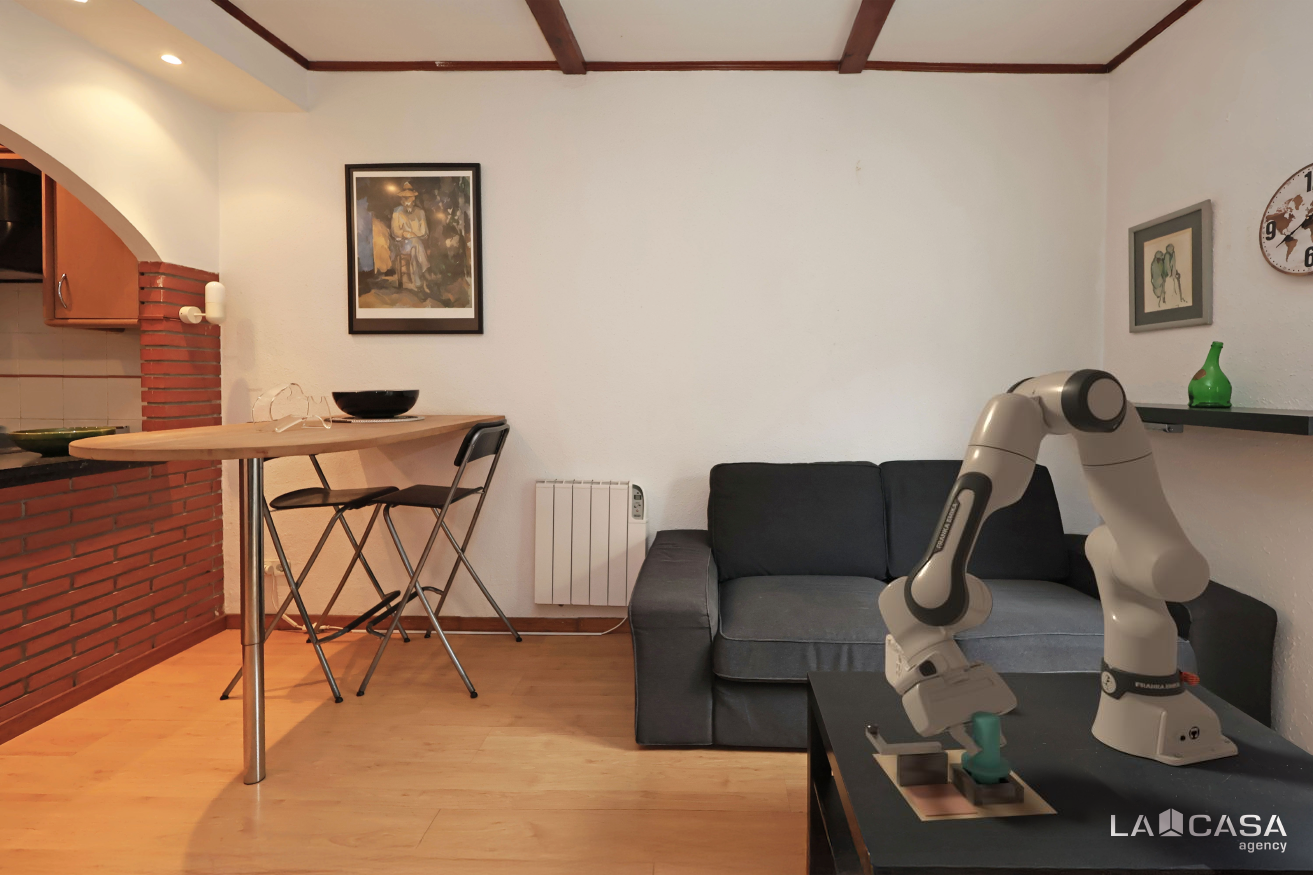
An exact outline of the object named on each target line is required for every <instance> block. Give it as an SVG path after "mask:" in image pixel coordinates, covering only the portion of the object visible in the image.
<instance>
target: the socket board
mask: <svg viewBox="0 0 1313 875" xmlns="http://www.w3.org/2000/svg"><path fill="white" fill-rule="evenodd" d="M966 751H967V750H966V748H965V749H949V750H948V749H947V750H944V749H942V752H941V753H921V754H901V755H882V756H881V754H880V753H872V756H873V758H875V760H876V761H877V763H878V764H879V765H880V767H881V768H882V769H883V771H884V772H885V773H886V775H887V776H888V777H889V779H890V780H891V782H892V783H893V784H894V785H895V787H896V788H897V789H898V791H899V792H900V794H902V796H903V798H904V799H905V800H906V801H907V803H908V804H909V806H910V807H911V808H912V811H914V813H915V814H916V816H918V818H919V819H920V820H921V821H922V822H930V821H932V822H933V821H946V820H947V821H948V820H962V819H963V820H964V819H965V820H967V819H981V818H997V817H998V818H999V817H1012V816H1013V817H1014V816H1016V817H1017V816H1032V815H1051V814H1058V811H1056V810H1055V809H1054V807H1052V806H1050V804H1049V803H1048V802H1046V800H1044V799H1043V798H1042V797H1041V796H1040V795H1039V794H1038V793H1037V792H1036V791H1035V790H1034V789H1032V787H1030V786H1029V785H1028V784H1027V783H1026V782H1025V781H1023V779H1021V778H1020V777H1019V776H1018V775H1017V774H1016V773H1015V772H1014V771H1013V770H1012V769H1011V772H1010V774H1009V775H1007V776H1005V777H1001V778H999V784H981V785H978V784H977V783H976V782H975V781H974V780H973V779H972V772H970V771H968V770H967V769H965V768H964V767H963V766H962V764H961V755H962V754H963V753H964V752H966Z"/></svg>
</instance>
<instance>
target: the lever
mask: <svg viewBox="0 0 1313 875" xmlns="http://www.w3.org/2000/svg"><path fill="white" fill-rule="evenodd" d="M865 736H866V737H867V739H868V740H869V741H870V743H871V744H872V745H873V746H874V748H875V749H876V750H877V751H878V754H881V756H882V755H901V754H921V753H941V752H942V750H943V745H942V744H941V742H939V741H926V742H925V741H924V742H922V741H921V742H906V743H905V742H904V743H887V742H886V741H885V740H884V738H883V737H882V736H881V735H880V733H879V724H877V723H874V722H869V723H866V727H865Z"/></svg>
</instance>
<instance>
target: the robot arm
mask: <svg viewBox="0 0 1313 875" xmlns="http://www.w3.org/2000/svg"><path fill="white" fill-rule="evenodd" d="M1068 434H1071V435H1072V436H1073V438H1074V439H1075V440H1076V443H1077V448H1078V455H1079V458H1080V464H1081V468H1082V472H1083V475H1084V479H1085V482H1086V483H1085V484H1086V486H1087V490H1088V494H1089V498H1090V502H1091V504H1092V506H1093V508H1094V509H1095V511H1097V513H1098V514H1099V515H1100V517H1101V518H1102V520H1103V521H1104V523H1105V524H1101V525H1099V526H1097V527H1095V528H1094V529H1092V531H1091V532H1090V533H1089V534H1088V536H1087V538H1086V540H1085V544H1084V551H1085V552H1084V553H1085V556H1086V558H1087V560H1088V562H1089V564H1090V566H1091V568H1092V570H1093V572H1094V577H1095V580H1096V585H1097V588H1098V593H1099V596H1100V601H1101V606H1102V612H1103V622H1104V626H1103V628H1104V633H1103V635H1104V636H1103V637H1104V638H1103V639H1104V640H1103V656H1102V658H1101V659H1100V674H1099V675H1100V677H1099V678H1100V685H1101V692H1100V693H1101V694H1100V699H1099V704H1098V708H1097V709H1098V710H1097V712H1096V717H1095V720H1094V722H1093V724H1092V727H1091V733H1092V734H1093V736H1094V737H1095V738H1096V739H1097V740H1099V741H1100V742H1102V743H1103V744H1105V745H1106V746H1109V747H1111V748H1112V749H1115V750H1117V751H1120V752H1122V753H1127V754H1130V755H1134V756H1138V757H1143V758H1148V759H1152V760H1156V761H1158V762H1162V763H1163V764H1166V765H1170V766H1178V767H1179V766H1183V765H1189V764H1194V763H1200V762H1204V761H1210V760H1215V759H1220V758H1224V757H1229V756H1236V755H1238V754H1239V750H1238V747H1237V745H1236V744H1235V743H1234V742H1233V741H1232V739H1229V738H1228V737H1226V736H1225V735H1224V734H1222V728H1221V723H1220V720H1219V717H1218V715H1217V713H1216V712H1215V711H1214V710H1213V709H1212V708H1211V707H1210V706H1208V705H1207V704H1205V702H1203V701H1202V700H1200V699H1199V698H1198V697H1196V696H1195V695H1194V694H1192V693H1191V692H1190V691H1189V690H1187V689H1186V686H1185V684H1184V683H1187V684H1188V685H1190V686H1193V687H1195V686H1197V685H1198V684H1199V683H1200V677H1199V676H1198V675H1197V674H1195V673H1192V671H1182V670H1181V669H1180V668H1178V667H1177V665H1178V664H1177V663H1178V662H1177V658H1178V655H1177V654H1178V628H1177V624H1176V622H1175V620H1174V618H1173V617H1172V616H1171V613H1170V612H1169V610H1168V607H1167V604H1166V602H1173V603H1175V602H1176V603H1185V602H1189V601H1191V600H1194V599H1196V598H1197V597H1199V596H1200V595H1201V594H1202V593H1203V592H1204V591H1205V590H1206V588H1207V587H1208V585H1209V582H1210V580H1211V579H1210V577H1211V570H1210V569H1211V568H1210V565H1209V563H1208V561H1207V559H1206V558H1205V556H1204V555H1203V554H1202V553H1201V552H1200V551H1198V549H1197V548H1196V547H1195V546H1194V545H1193V544H1192V542H1191V541H1190V540H1189V538H1188V536H1187V535H1186V533H1185V531H1184V529H1183V528H1182V526H1181V523H1180V522H1179V521H1178V519H1177V517H1176V515H1175V513H1174V511H1173V510H1172V508H1171V506H1170V503H1169V502H1168V499H1167V497H1166V494H1165V492H1164V490H1163V487H1162V482H1161V479H1160V475H1159V471H1158V469H1157V464H1156V460H1155V457H1154V454H1153V449H1152V446H1151V442H1150V440H1149V436H1148V433H1147V430H1146V427H1145V425H1144V423H1143V421H1142V419H1141V416H1140V414H1139V412H1138V411H1137V408H1136V407H1135V405H1134V404H1133V402H1131V400H1129V399H1127V395H1126V392H1125V389H1124V387H1123V385H1122V384H1121V383H1120V381H1119V380H1118V378H1116V376H1115V375H1113V374H1112V373H1110V372H1108V371H1104V370H1101V369H1094V368H1092V369H1091V368H1085V369H1080V370H1060V371H1053V372H1051V373H1048V374H1044V375H1040V376H1032V377H1027V378H1024V379H1021V380H1019V381H1017V382H1016V383H1014V384H1013V385H1012V386H1010V388H1008V389H1007V391H1006V392H1003V393H999V394H996V395H995V396H994V395H993V397H990V399H989V400H988V401H987V403H986V404H985V406H984V408H983V410H982V411H981V413H980V416H979V417H978V419H977V422H976V424H975V426H974V429H973V431H972V434H971V436H970V439H969V442H968V444H967V445H968V446H967V448H966V451H965V455H964V458H963V461H962V465H961V467H960V469H959V473H958V476H957V478H956V480H955V482H954V484H953V487H952V488H951V490H950V492H949V495H948V496H947V500H946V501H945V503H944V506H943V509H942V511H941V513H940V517H939V519H938V521H937V525H936V526H935V529H934V531H933V535H932V537H931V539H930V543H929V544H928V547H927V550H926V551H925V553H924V555H923V556H922V557H921V559H920V560H919V561H918V563H917V564H915V566H914V567H913V568H912V570H910V573H909V574H908V576H900V577H898V578H897V579H896V578H895V580H892V581H891V582H889V583H888V584H887V585H885V587H884V588H883V589H882V590H881V592H880V594H879V596H878V601H877V602H878V608H879V611H880V614H881V616H882V619H883V621H884V623H885V625H886V627H887V629H888V631H889V633H890V634H891V635H892V637H893V639H894V640H895V642H896V643H897V644H898V645H899V646H900V647H901V648H902V650H903V652H904V654H905V657H906V661H907V663H908V665H909V667H910V669H909V670H908V671H907V673H906V674H905V675H903V676H902V677H901V678H900V679H899V680H898V681H897V682H896V683H895V685H894V687H895V688H894V687H893V688H894V689H895V691H896V693H897V694H898V695H899V696H902V699H901V701H902V705H903V707H904V710H905V713H906V714H907V717H908V719H909V721H910V723H911V724H912V726H913V728H914V730H915V731H916V732H917V733H918V734H919V735H921V736H922V737H924V738H928V737H932V736H935V735H939V734H941V733H944V732H945V733H946V732H949V733H950V735H951V737H952V738H953V739H954V740H955V741H956V742H958V743H959V744H960V745H962V747H964V748H965V749H966V750H967V752H968V753H969V755H970V756H974V755H977V754H979V753H981V752H982V751H983V749H982V747H981V746H980V743H979V742H978V740H973V739H972V736H970V735H969V734H968V733H967V732H966V730H967V729H966V727H965V726H968V725H972V720H973V713H975V712H979V711H984V712H990V713H993V714H996V715H997V716H1001V715H1005V714H1007V713H1008V712H1010V711H1012V710H1013V709H1015V708H1016V707H1017V706H1018V705H1017V703H1018V702H1017V698H1016V695H1015V694H1014V692H1012V690H1011V689H1010V687H1009V686H1008V685H1007V683H1006V682H1005V681H1004V680H1003V678H1002V677H1001V676H1000V675H999V674H998V673H997V671H995V669H993V668H992V666H991V665H990V664H989V663H986V662H985V661H984V662H983V661H981V660H980V659H973V661H968V660H967V658H966V657H965V655H964V653H963V651H962V650H961V649H960V647H959V645H958V644H957V642H956V640H955V639H954V636H955V635H956V634H959V633H963V632H966V631H968V630H971V629H974V628H976V627H978V626H981V625H982V624H984V623H985V622H986V621H987V620H988V619H989V617H990V616H991V613H992V610H993V606H994V605H993V604H994V603H993V602H994V601H993V595H992V593H991V590H990V588H989V587H988V585H987V584H986V583H985V582H984V581H983V580H982V579H980V578H978V577H976V576H974V575H972V574H970V573H967V569H968V568H967V567H968V563H969V561H970V557H971V555H972V552H973V550H974V547H975V545H976V542H977V539H978V536H979V534H980V532H981V528H982V527H983V524H984V522H985V521H986V519H987V518H988V517H989V516H990V515H991V514H993V513H994V512H995V511H997V510H999V509H1001V508H1005V507H1008V506H1010V505H1012V504H1014V503H1016V502H1018V501H1019V500H1021V499H1022V496H1023V495H1024V493H1025V492H1026V490H1027V488H1028V486H1029V483H1030V482H1031V479H1032V477H1033V473H1034V471H1035V467H1036V464H1037V461H1038V457H1039V454H1040V453H1039V452H1040V447H1041V443H1042V441H1043V440H1044V438H1045V437H1046V436H1047V435H1048V436H1049V435H1051V436H1052V435H1054V436H1062V435H1063V436H1064V435H1068ZM1006 744H1007V740H1006V738H1005V736H1004V735H1003V733H1002V728H1001V724H1000V748H1001V747H1003V746H1005V745H1006Z"/></svg>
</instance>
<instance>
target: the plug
mask: <svg viewBox="0 0 1313 875" xmlns="http://www.w3.org/2000/svg"><path fill="white" fill-rule="evenodd" d="M971 725H972V730H971V731H972V732H971V734H972V736H971V738H972V739H973V740H978V742H979V743H980V746H981V747H982V749H983V751H982V752H981V753H979V754H977V755H974V756H970V755H969V753H968V752H967V751H966V752H964V753H963V754H962V755H961V764H962V766H963V767H964V768H965V769H967V770H968V771H970V772H972V779H973V780H974V781H975V782H976V783H977V784H978V785H981V784H999V778H1001V777H1005V776H1007V775H1009V774H1010V772H1011V770H1012V769H1011V768H1012V765H1011V762H1010V761H1009V760H1008V759H1007V758H1006V757H1004V756H1002V755H1001V750H1000V749H1001V747H1000V725H1001V718H1000V715H998V716H997V715H996V714H993V713H990V712H984V711H979V712H975V713H973V720H972V724H971Z"/></svg>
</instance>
